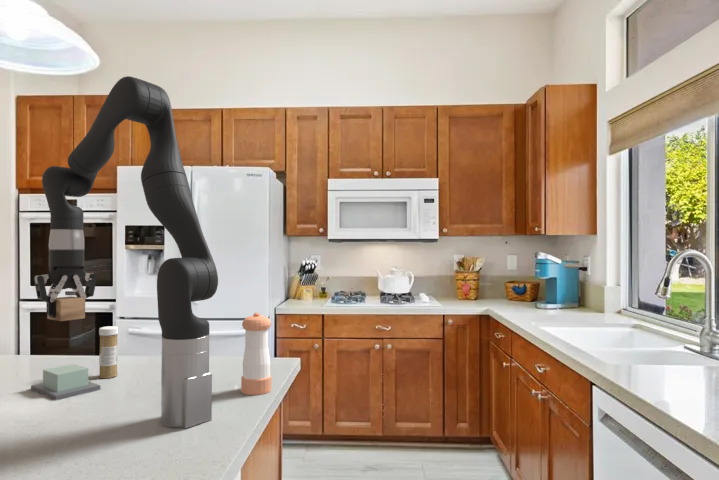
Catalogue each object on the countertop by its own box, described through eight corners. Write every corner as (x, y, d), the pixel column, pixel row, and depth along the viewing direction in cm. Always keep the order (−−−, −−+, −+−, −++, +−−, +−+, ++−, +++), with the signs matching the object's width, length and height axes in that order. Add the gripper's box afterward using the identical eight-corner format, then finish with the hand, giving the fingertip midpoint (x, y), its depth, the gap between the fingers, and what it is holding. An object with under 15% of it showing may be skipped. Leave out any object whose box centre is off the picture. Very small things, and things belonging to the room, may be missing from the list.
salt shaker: (277, 390, 118) (277, 312, 118) (252, 397, 112) (252, 315, 113) (260, 384, 123) (260, 309, 123) (235, 390, 117) (235, 312, 118)
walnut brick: (84, 318, 119) (85, 298, 119) (60, 321, 114) (60, 300, 114) (71, 315, 123) (71, 296, 123) (47, 318, 118) (47, 298, 118)
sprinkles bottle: (103, 374, 132) (103, 325, 132) (120, 374, 132) (120, 325, 132) (95, 379, 127) (96, 328, 127) (113, 378, 128) (114, 328, 128)
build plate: (100, 389, 118) (100, 369, 118) (56, 400, 110) (56, 378, 110) (74, 380, 126) (74, 361, 126) (30, 389, 118) (31, 369, 118)
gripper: (40, 248, 110) (40, 321, 110) (103, 247, 122) (103, 314, 122) (27, 248, 115) (26, 318, 115) (89, 247, 127) (89, 311, 126)
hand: (66, 315), depth 118 cm, fingers closed on walnut brick, 5 cm apart
